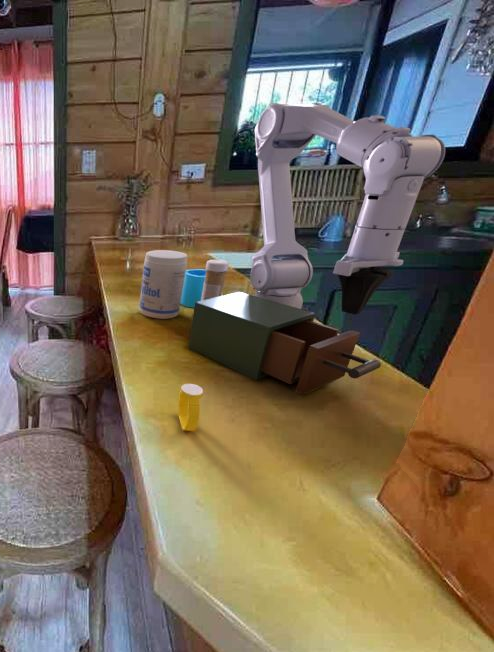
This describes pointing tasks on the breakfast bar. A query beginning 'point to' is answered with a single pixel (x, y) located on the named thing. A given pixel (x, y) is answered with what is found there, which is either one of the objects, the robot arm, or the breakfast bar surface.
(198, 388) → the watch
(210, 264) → the sprinkles bottle
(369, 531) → the breakfast bar surface
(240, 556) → the breakfast bar surface
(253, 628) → the breakfast bar surface
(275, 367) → the drawer
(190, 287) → the mug
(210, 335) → the cabinet
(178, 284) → the supplement tub
